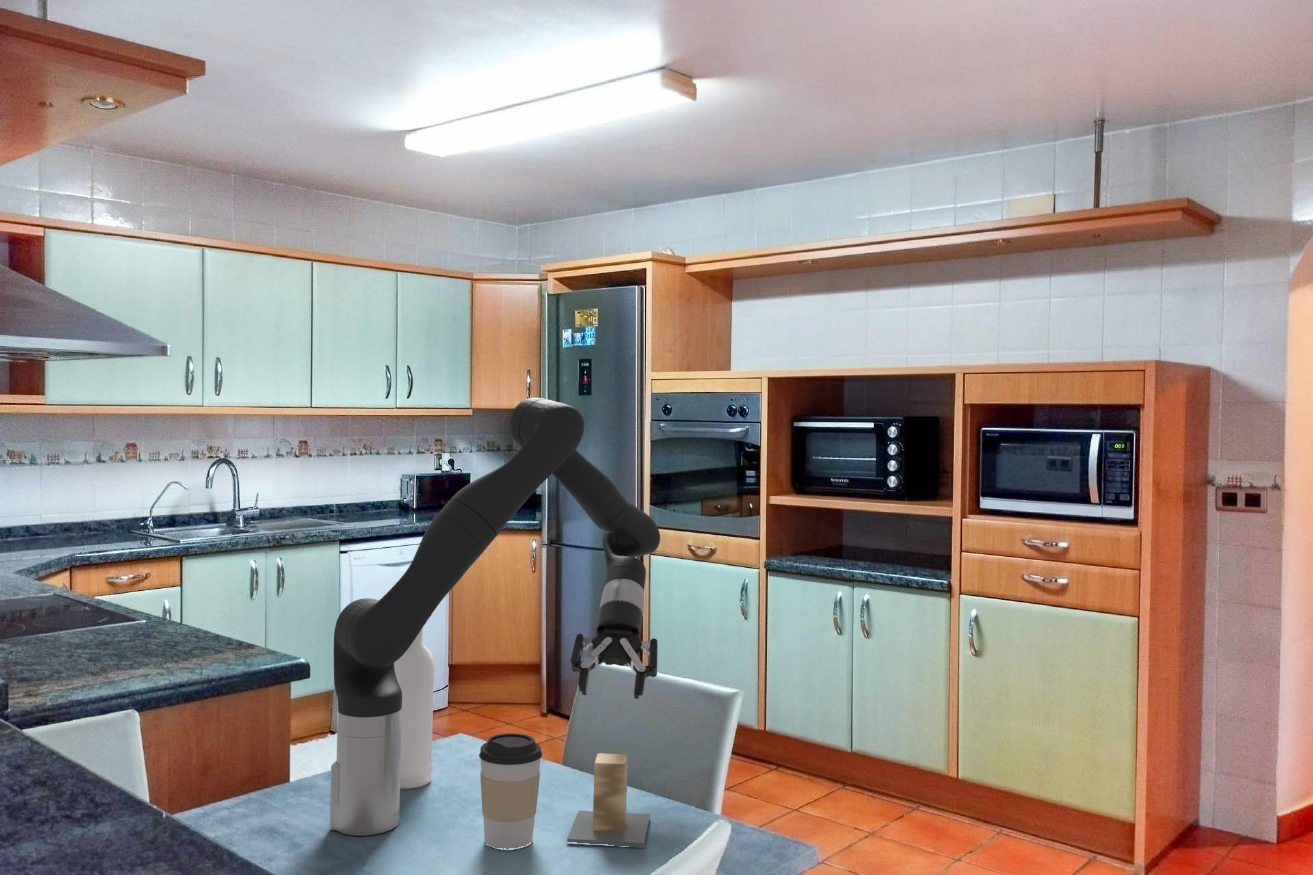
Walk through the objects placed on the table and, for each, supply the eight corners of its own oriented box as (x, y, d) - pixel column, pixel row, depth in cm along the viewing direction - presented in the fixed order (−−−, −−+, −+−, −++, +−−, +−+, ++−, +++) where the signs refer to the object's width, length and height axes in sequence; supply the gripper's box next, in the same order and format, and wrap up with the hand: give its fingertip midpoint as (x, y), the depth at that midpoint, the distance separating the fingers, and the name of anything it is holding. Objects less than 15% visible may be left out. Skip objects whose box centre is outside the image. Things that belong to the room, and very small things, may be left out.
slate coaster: (567, 844, 146) (567, 838, 146) (578, 815, 157) (578, 810, 157) (643, 848, 145) (643, 842, 145) (649, 819, 156) (649, 814, 156)
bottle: (394, 771, 175) (399, 597, 175) (438, 774, 174) (443, 599, 174) (375, 787, 167) (380, 604, 167) (421, 791, 166) (426, 607, 166)
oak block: (592, 830, 149) (594, 762, 149) (596, 819, 154) (598, 753, 154) (623, 832, 149) (625, 764, 149) (625, 820, 154) (627, 754, 153)
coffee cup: (510, 823, 153) (513, 724, 153) (553, 840, 147) (555, 736, 147) (463, 841, 146) (466, 737, 146) (506, 859, 140) (509, 751, 140)
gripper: (578, 596, 174) (564, 678, 162) (662, 601, 173) (653, 684, 161) (581, 622, 179) (568, 703, 167) (662, 626, 178) (654, 709, 166)
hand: (610, 694), depth 164 cm, fingers open, 8 cm apart
